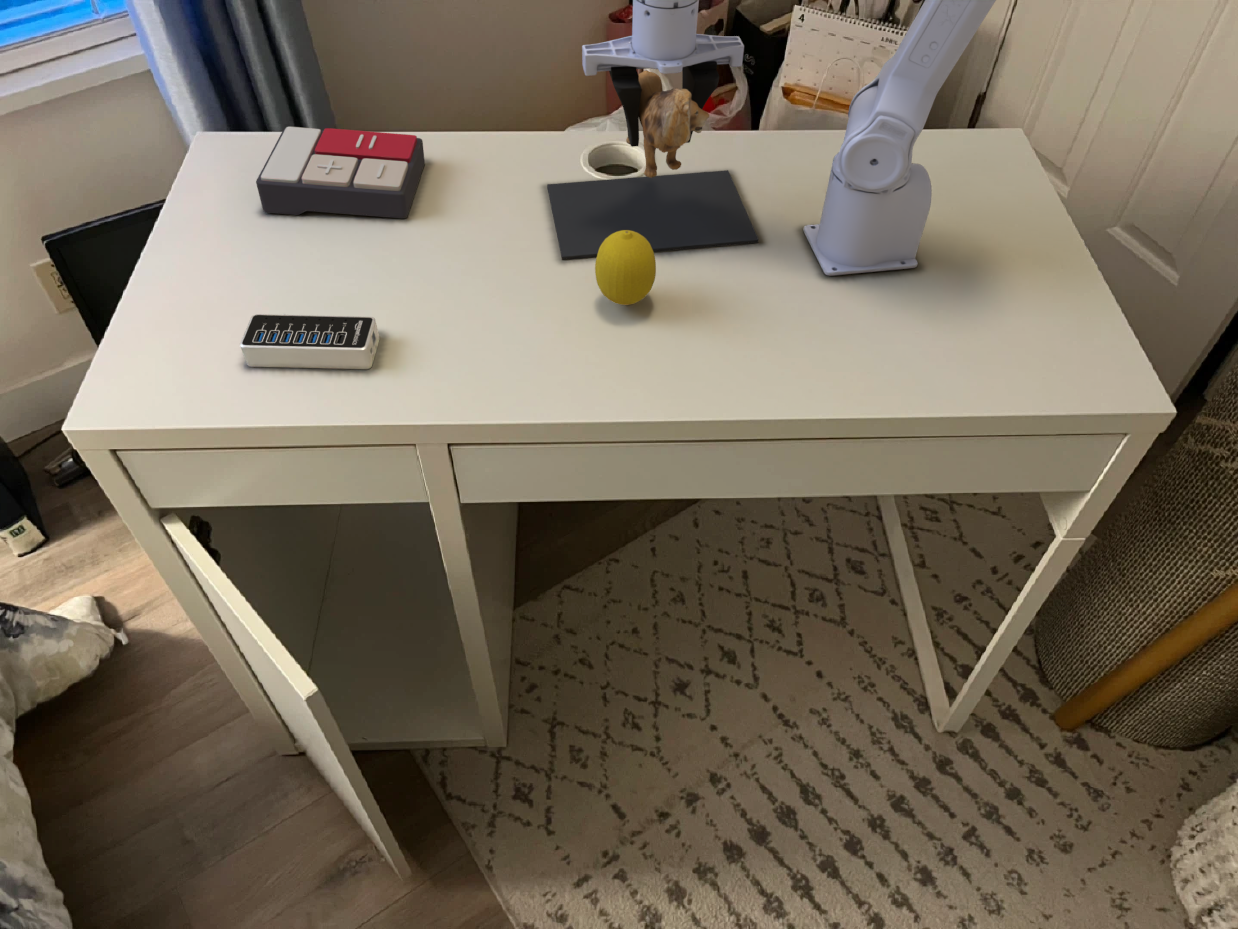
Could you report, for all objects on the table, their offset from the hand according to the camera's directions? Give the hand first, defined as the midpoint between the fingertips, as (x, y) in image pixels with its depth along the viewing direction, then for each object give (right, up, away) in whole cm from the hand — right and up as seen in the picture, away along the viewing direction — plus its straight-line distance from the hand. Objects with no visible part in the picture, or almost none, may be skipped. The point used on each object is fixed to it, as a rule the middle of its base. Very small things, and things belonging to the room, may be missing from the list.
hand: (658, 139), depth 91 cm
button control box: (-33, -2, +9) cm, 34 cm away
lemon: (-3, -17, -3) cm, 17 cm away
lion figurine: (0, -1, +1) cm, 2 cm away
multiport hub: (-31, -22, -8) cm, 39 cm away
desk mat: (-1, -5, +7) cm, 9 cm away
